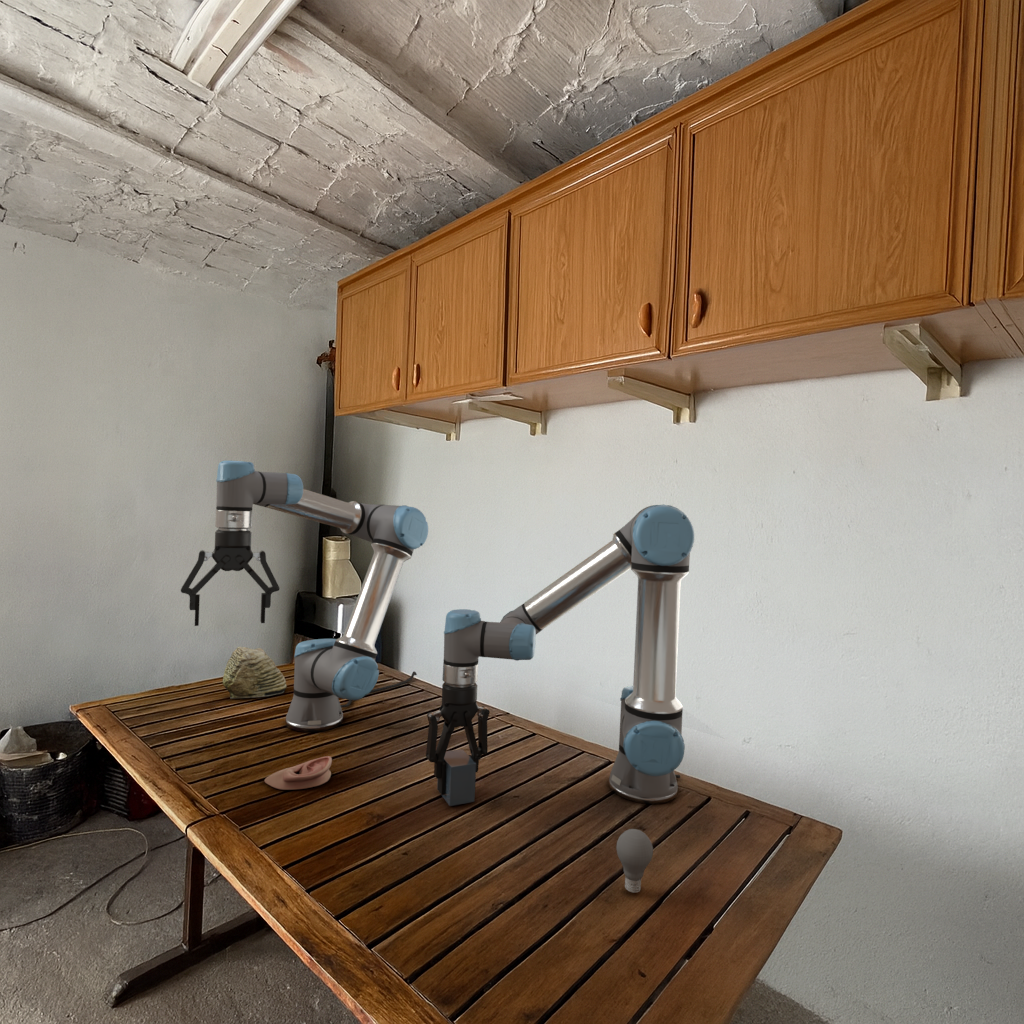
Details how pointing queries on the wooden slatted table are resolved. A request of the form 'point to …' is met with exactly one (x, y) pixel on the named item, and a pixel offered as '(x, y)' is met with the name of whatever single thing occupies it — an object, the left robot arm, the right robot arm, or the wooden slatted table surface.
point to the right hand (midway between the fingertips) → (455, 789)
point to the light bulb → (634, 857)
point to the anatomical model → (302, 775)
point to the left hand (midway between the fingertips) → (230, 623)
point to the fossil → (252, 674)
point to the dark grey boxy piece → (459, 778)
